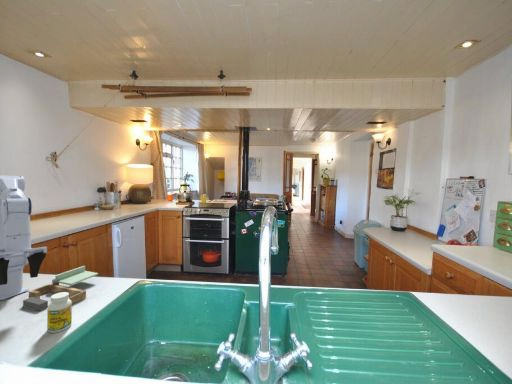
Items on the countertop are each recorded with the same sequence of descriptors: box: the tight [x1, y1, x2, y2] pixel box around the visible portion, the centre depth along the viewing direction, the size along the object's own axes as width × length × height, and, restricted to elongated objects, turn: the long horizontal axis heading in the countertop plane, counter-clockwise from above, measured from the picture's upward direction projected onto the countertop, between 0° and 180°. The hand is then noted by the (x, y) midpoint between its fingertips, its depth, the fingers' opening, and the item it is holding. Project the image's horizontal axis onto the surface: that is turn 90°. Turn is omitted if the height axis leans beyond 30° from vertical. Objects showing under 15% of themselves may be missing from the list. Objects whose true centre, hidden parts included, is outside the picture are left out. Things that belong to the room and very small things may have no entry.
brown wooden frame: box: [28, 282, 87, 305], centre depth 83 cm, size 17×8×3 cm, turn 75°
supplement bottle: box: [46, 292, 73, 334], centre depth 67 cm, size 5×5×10 cm
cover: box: [51, 265, 99, 286], centre depth 92 cm, size 12×9×3 cm
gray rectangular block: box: [22, 297, 49, 312], centre depth 77 cm, size 8×2×2 cm, turn 74°
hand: (19, 280), depth 71 cm, fingers open, 7 cm apart
